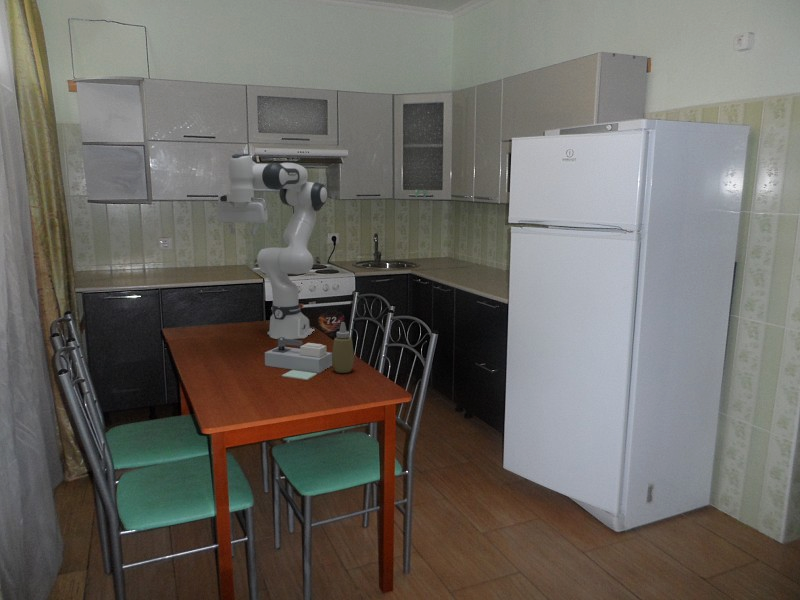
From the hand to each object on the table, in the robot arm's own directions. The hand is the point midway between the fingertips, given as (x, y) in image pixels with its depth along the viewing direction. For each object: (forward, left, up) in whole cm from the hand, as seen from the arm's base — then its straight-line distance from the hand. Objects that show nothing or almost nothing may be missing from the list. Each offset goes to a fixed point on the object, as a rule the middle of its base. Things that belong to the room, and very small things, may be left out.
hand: (243, 234), depth 232 cm
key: (+6, +24, -42) cm, 48 cm away
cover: (+6, +34, -42) cm, 54 cm away
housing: (+6, +27, -47) cm, 55 cm away
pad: (+16, +34, -47) cm, 60 cm away
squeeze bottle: (+5, +45, -47) cm, 65 cm away
